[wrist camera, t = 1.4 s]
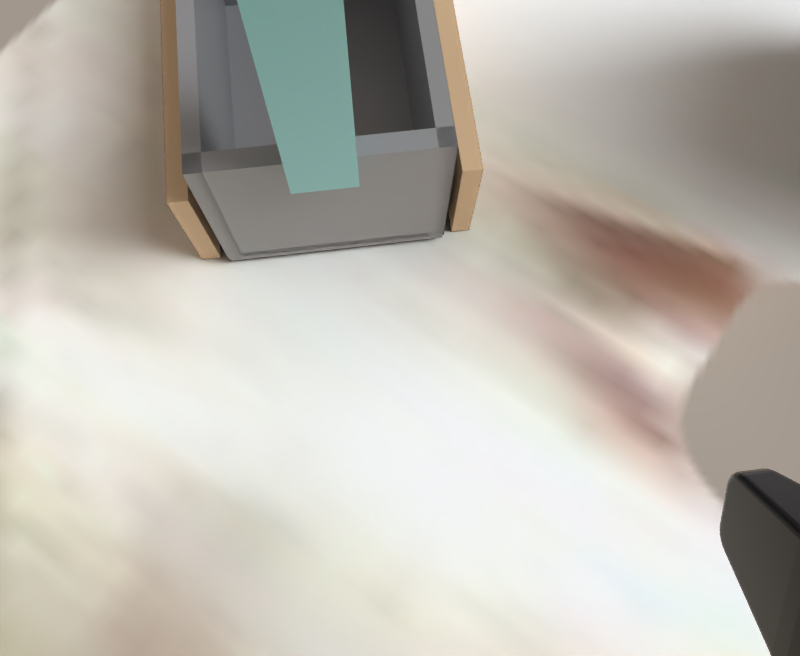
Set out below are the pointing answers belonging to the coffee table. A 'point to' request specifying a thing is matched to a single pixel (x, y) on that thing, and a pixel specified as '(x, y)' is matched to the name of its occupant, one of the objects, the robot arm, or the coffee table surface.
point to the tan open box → (468, 145)
